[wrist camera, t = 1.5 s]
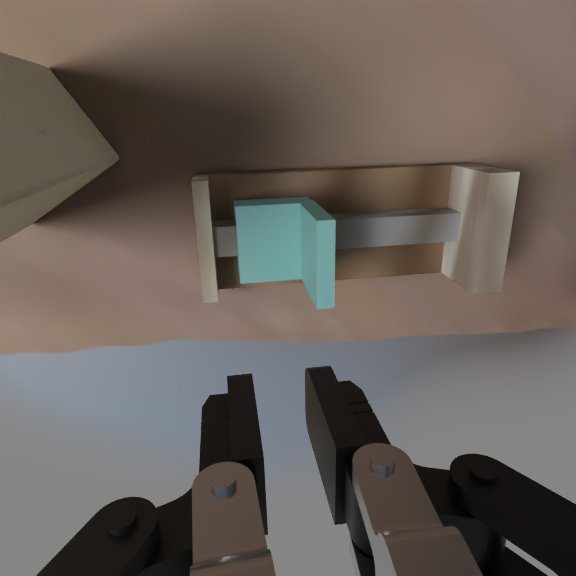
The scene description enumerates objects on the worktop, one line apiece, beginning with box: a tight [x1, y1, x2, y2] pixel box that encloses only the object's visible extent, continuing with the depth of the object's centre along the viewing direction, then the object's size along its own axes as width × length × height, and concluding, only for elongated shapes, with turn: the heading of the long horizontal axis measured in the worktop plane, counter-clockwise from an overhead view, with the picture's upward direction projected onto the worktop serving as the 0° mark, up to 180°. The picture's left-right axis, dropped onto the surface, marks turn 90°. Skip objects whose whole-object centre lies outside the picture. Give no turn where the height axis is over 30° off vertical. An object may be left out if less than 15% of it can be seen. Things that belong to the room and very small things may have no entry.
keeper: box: [234, 197, 336, 309], centre depth 28 cm, size 5×5×8 cm
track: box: [191, 162, 520, 303], centre depth 31 cm, size 20×8×6 cm, turn 92°
